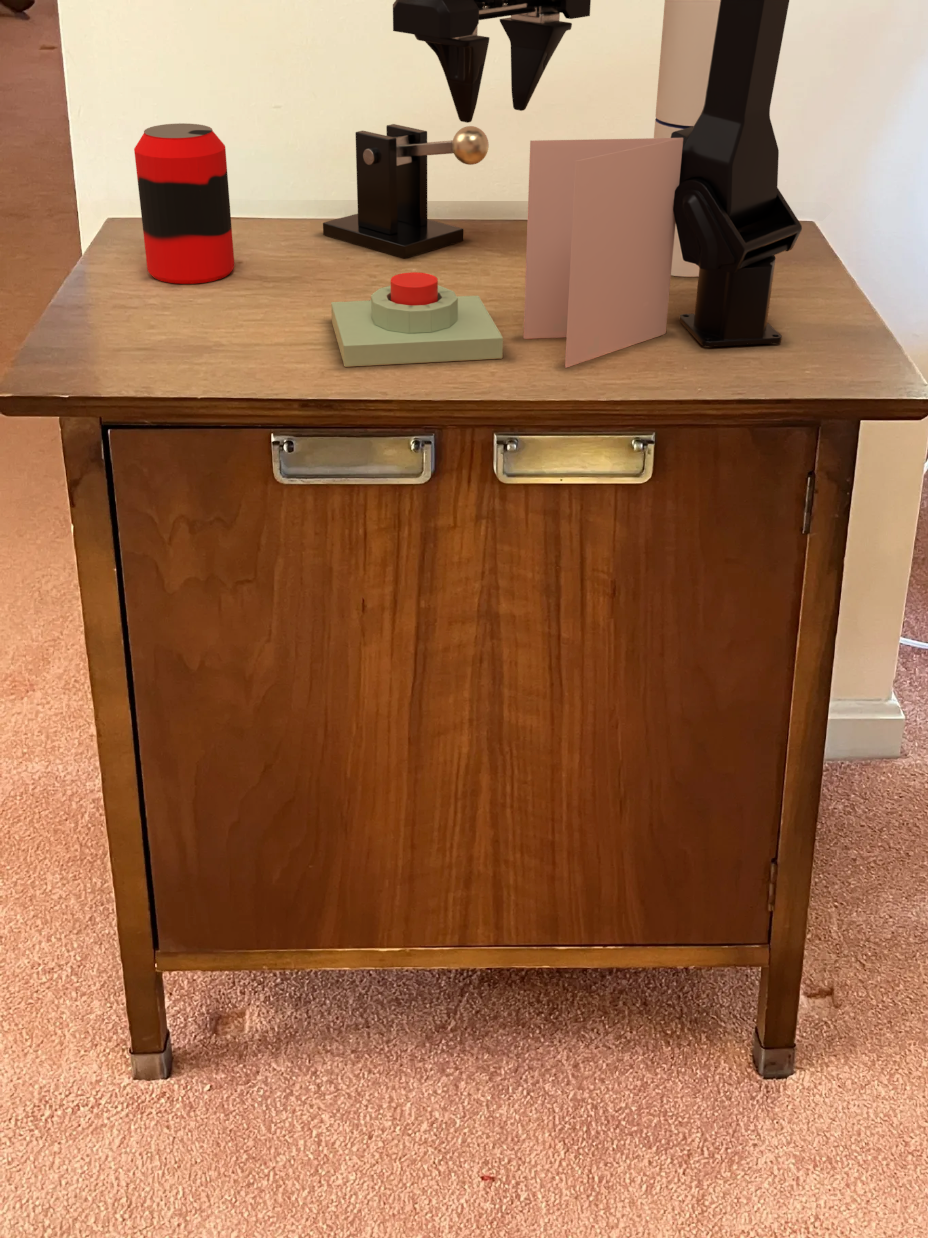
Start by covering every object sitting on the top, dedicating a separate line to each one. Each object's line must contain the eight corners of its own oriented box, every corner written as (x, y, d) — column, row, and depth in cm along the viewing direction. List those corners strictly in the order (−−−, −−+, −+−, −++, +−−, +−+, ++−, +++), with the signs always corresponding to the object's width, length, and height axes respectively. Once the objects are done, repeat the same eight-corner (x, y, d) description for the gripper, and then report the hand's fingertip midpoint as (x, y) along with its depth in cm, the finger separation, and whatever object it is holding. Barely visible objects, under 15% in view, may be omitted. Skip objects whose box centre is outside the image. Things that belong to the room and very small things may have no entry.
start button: (441, 308, 104) (441, 285, 103) (394, 310, 103) (393, 287, 102) (433, 293, 107) (433, 271, 106) (388, 295, 106) (387, 273, 105)
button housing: (502, 358, 103) (503, 314, 101) (344, 367, 101) (342, 321, 100) (478, 315, 112) (479, 273, 110) (331, 322, 110) (330, 279, 108)
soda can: (215, 288, 117) (202, 143, 111) (133, 281, 118) (116, 137, 112) (247, 262, 123) (237, 124, 117) (169, 256, 125) (155, 118, 118)
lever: (498, 160, 120) (493, 122, 119) (474, 166, 118) (468, 127, 117) (396, 167, 129) (390, 131, 128) (371, 173, 127) (366, 137, 125)
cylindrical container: (631, 269, 123) (655, -38, 110) (660, 248, 128) (685, -46, 115) (707, 281, 120) (740, -32, 107) (733, 260, 125) (767, -41, 112)
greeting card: (662, 330, 109) (680, 135, 101) (687, 363, 103) (707, 158, 95) (521, 334, 108) (528, 137, 100) (538, 369, 102) (546, 161, 94)
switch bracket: (463, 241, 130) (465, 134, 125) (404, 258, 125) (403, 148, 120) (382, 219, 136) (380, 116, 131) (322, 235, 131) (318, 128, 126)
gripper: (498, -102, 119) (493, 88, 127) (341, -91, 107) (347, 117, 115) (600, -94, 112) (588, 105, 121) (445, -82, 101) (444, 138, 109)
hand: (492, 115), depth 116 cm, fingers open, 7 cm apart
